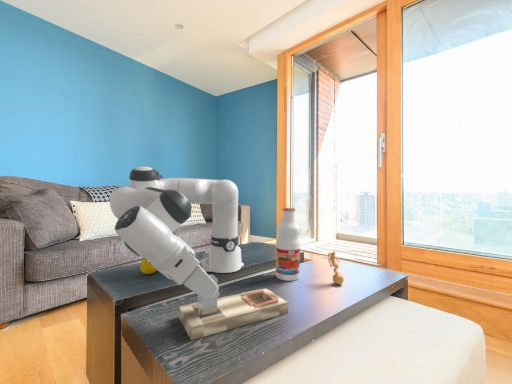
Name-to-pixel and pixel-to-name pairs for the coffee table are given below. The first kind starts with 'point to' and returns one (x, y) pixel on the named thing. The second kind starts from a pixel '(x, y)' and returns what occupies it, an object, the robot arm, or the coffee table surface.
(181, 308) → the beige flat wooden block
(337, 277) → the figurine
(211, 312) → the steel peg
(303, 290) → the coffee table surface
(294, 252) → the fruit juice
